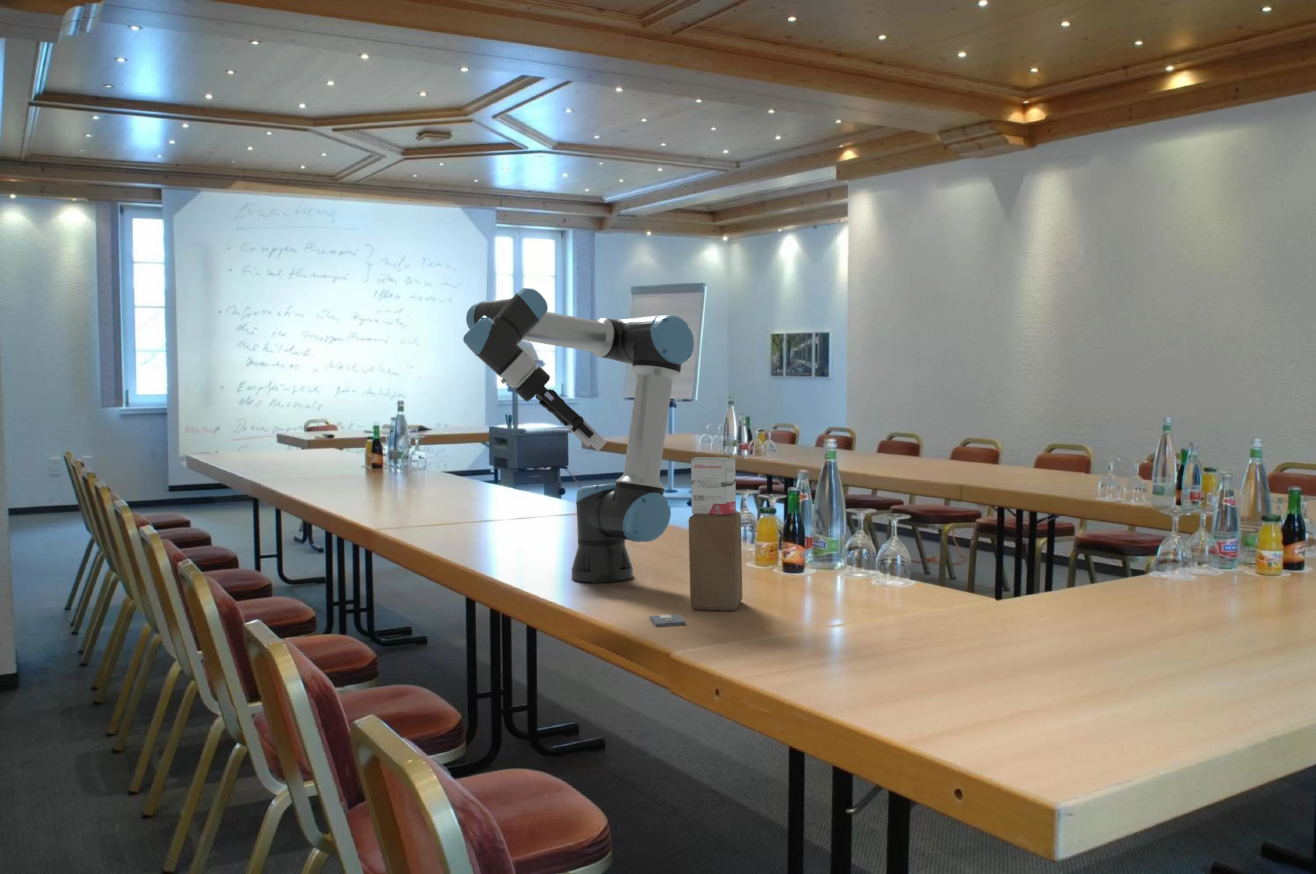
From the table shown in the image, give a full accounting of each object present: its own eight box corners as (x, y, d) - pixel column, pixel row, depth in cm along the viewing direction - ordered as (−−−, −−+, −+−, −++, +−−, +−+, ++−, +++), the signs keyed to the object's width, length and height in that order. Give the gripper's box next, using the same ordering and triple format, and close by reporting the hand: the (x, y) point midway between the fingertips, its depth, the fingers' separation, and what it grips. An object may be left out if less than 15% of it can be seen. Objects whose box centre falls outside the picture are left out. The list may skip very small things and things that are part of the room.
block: (737, 612, 220) (735, 516, 219) (689, 611, 222) (687, 516, 221) (743, 601, 230) (741, 510, 229) (697, 600, 232) (695, 510, 231)
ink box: (737, 512, 225) (736, 456, 224) (726, 515, 221) (725, 458, 220) (701, 510, 230) (700, 456, 229) (690, 513, 225) (689, 457, 225)
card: (649, 618, 216) (649, 615, 216) (678, 616, 217) (678, 613, 217) (656, 626, 209) (655, 622, 209) (685, 624, 210) (685, 620, 210)
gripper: (508, 389, 238) (577, 453, 242) (518, 390, 214) (594, 461, 218) (531, 365, 239) (599, 429, 243) (544, 363, 214) (619, 435, 219)
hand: (597, 444), depth 230 cm, fingers open, 13 cm apart
